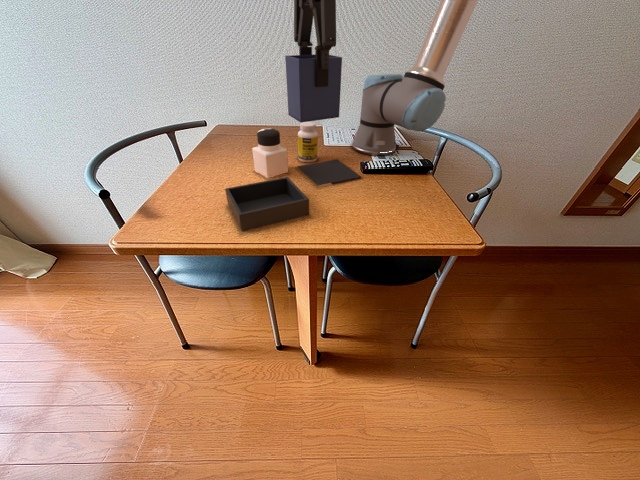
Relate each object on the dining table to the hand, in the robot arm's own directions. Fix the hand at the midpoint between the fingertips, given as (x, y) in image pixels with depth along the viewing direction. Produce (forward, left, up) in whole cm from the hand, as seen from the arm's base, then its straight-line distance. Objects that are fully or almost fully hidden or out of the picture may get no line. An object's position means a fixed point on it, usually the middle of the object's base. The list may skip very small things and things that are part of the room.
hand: (313, 83), depth 64 cm
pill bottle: (-6, -16, -25) cm, 30 cm away
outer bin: (+16, +9, -24) cm, 30 cm away
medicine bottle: (+8, -11, -25) cm, 28 cm away
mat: (-7, -4, -24) cm, 26 cm away
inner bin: (0, 0, -7) cm, 7 cm away
